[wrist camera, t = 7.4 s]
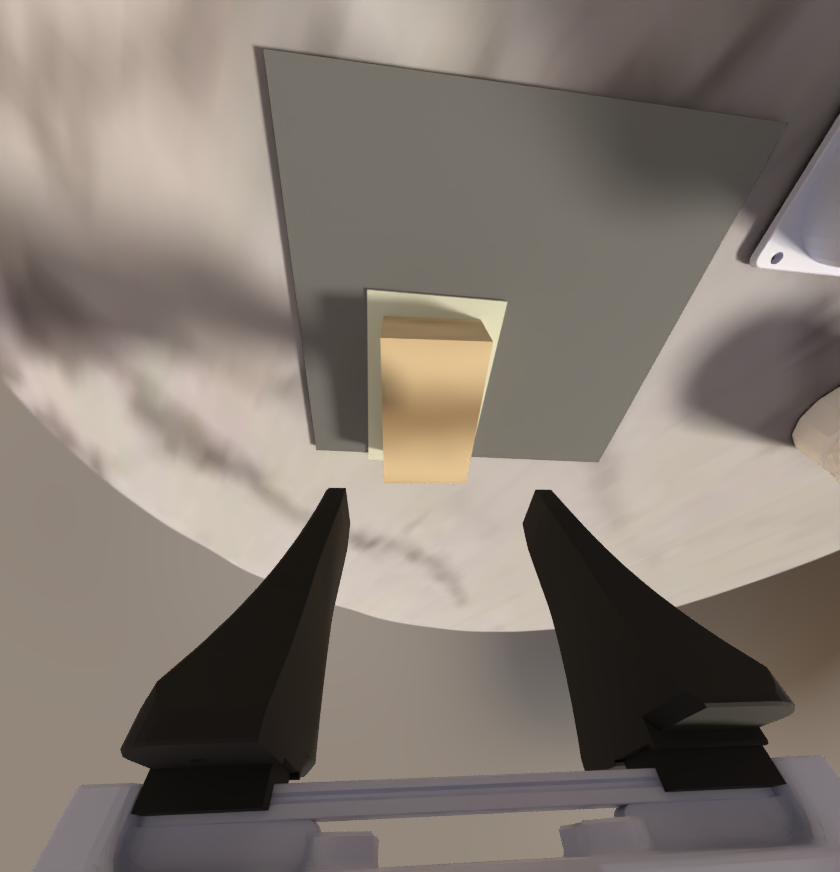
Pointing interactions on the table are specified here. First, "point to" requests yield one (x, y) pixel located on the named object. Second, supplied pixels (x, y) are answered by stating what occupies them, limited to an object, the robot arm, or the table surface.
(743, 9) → the table surface
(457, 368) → the oak block
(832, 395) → the white cup
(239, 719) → the robot arm
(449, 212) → the rubber mat
